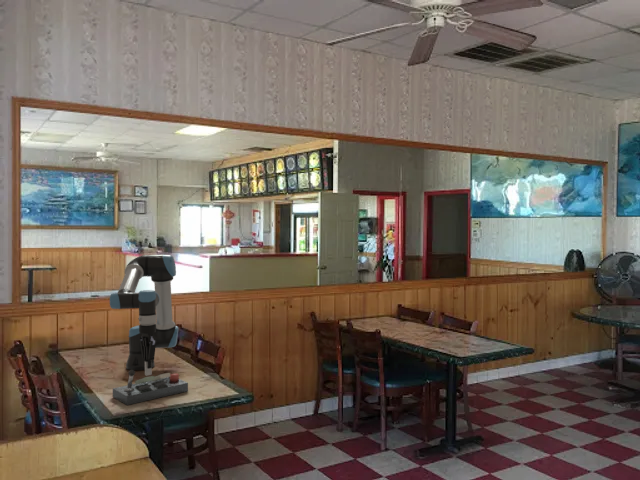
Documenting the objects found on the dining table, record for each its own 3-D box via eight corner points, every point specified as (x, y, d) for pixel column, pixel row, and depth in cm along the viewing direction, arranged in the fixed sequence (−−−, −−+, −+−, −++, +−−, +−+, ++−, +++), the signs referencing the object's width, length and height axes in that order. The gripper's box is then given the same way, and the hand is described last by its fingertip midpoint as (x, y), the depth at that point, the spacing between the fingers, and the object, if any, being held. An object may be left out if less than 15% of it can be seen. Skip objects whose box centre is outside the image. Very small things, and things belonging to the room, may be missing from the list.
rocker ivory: (151, 381, 268) (150, 377, 268) (161, 379, 271) (160, 375, 272) (160, 378, 261) (159, 374, 261) (170, 376, 264) (169, 372, 265)
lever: (125, 387, 256) (128, 369, 253) (130, 385, 258) (134, 368, 255) (127, 390, 254) (130, 372, 251) (133, 389, 256) (136, 371, 253)
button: (167, 380, 271) (167, 374, 271) (176, 378, 274) (176, 372, 274) (172, 382, 268) (172, 376, 268) (180, 380, 271) (180, 374, 271)
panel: (112, 396, 259) (112, 386, 259) (172, 383, 279) (171, 374, 279) (127, 405, 247) (126, 394, 247) (188, 391, 267) (187, 381, 267)
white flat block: (135, 384, 263) (134, 380, 263) (145, 382, 266) (145, 378, 266) (144, 381, 256) (143, 377, 256) (154, 379, 259) (153, 375, 259)
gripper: (133, 323, 259) (134, 373, 260) (146, 326, 250) (146, 379, 250) (148, 321, 264) (149, 370, 265) (161, 324, 255) (162, 376, 255)
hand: (148, 374), depth 258 cm, fingers closed
